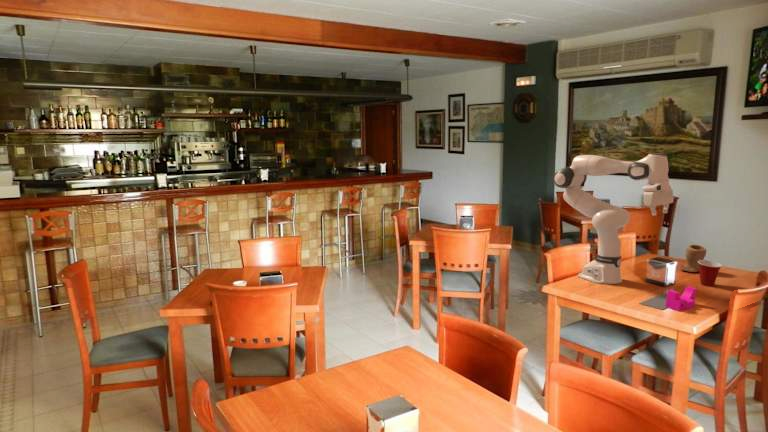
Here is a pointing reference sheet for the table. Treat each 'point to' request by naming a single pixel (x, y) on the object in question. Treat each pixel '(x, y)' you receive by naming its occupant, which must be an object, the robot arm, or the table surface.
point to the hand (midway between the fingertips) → (659, 214)
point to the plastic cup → (708, 272)
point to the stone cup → (693, 258)
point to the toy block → (681, 299)
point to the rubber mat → (656, 302)
